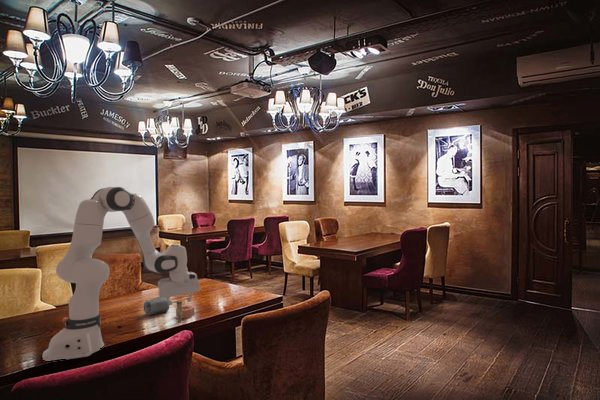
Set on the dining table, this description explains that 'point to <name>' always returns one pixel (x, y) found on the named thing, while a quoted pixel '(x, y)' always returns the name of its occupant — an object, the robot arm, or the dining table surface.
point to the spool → (156, 306)
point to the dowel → (179, 311)
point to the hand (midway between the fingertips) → (179, 303)
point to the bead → (187, 311)
